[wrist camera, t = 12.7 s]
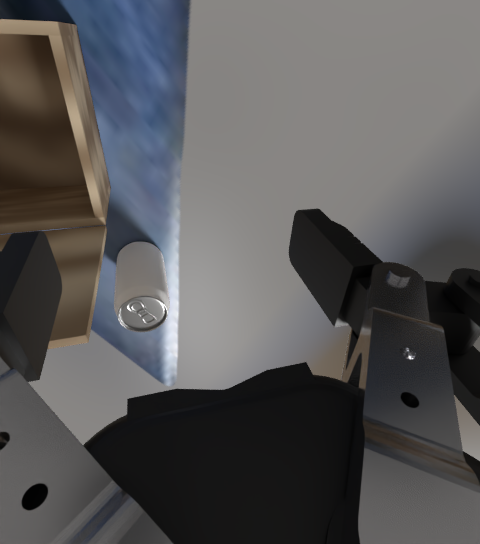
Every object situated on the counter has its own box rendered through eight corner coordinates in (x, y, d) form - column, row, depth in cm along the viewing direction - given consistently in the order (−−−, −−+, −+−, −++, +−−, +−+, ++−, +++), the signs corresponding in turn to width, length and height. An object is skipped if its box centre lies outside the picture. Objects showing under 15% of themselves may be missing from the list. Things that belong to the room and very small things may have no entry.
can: (147, 232, 45) (151, 284, 35) (171, 264, 49) (181, 318, 39) (106, 253, 45) (100, 311, 36) (134, 283, 49) (135, 342, 40)
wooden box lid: (-222, 389, 16) (-136, 462, 19) (85, 338, 19) (109, 409, 23) (-60, 240, 29) (-27, 300, 33) (105, 225, 32) (118, 282, 36)
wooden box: (-103, 16, 27) (-196, 9, 19) (76, 24, 30) (57, 21, 23) (-20, 195, 37) (-60, 239, 29) (110, 187, 40) (105, 224, 32)
